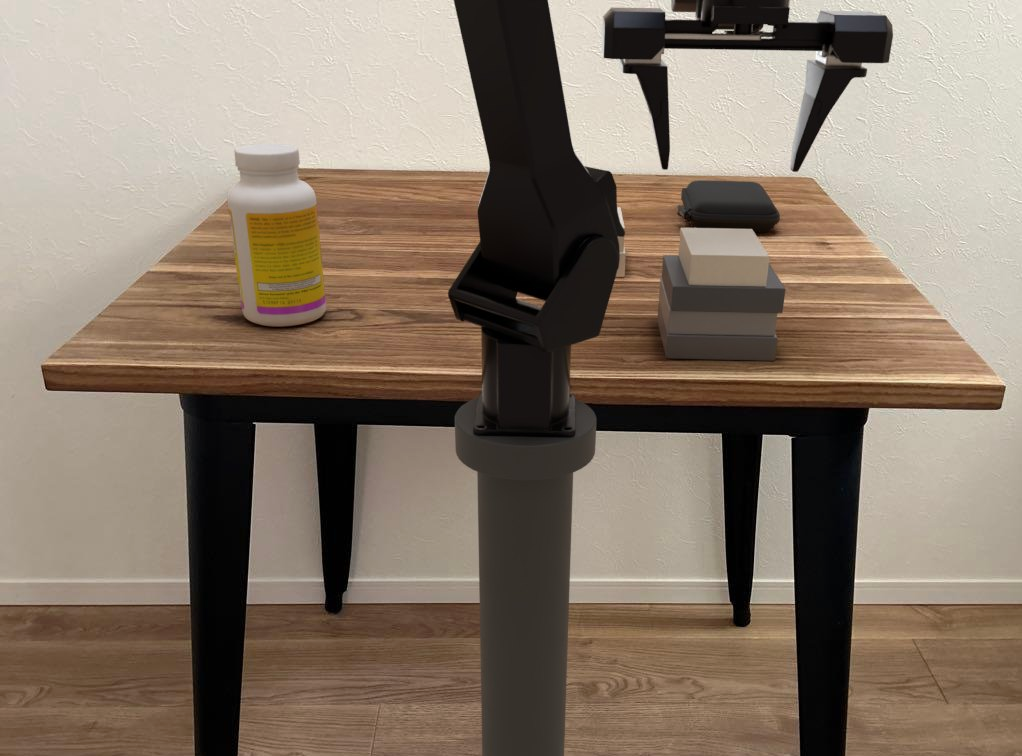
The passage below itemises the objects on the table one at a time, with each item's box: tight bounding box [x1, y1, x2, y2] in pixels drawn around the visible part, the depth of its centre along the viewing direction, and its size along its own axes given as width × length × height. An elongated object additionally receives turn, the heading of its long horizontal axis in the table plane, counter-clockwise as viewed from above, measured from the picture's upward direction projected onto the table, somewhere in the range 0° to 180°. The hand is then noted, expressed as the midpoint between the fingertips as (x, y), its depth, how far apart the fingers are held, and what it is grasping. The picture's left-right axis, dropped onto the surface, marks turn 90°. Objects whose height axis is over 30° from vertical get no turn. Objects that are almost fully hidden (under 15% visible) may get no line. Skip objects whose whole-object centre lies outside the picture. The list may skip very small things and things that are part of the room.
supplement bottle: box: [226, 143, 327, 328], centre depth 82 cm, size 7×7×13 cm
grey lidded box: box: [656, 254, 787, 362], centre depth 80 cm, size 9×8×5 cm
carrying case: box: [676, 179, 781, 233], centre depth 116 cm, size 11×3×15 cm
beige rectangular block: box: [677, 227, 771, 287], centre depth 78 cm, size 8×6×2 cm
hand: (729, 169), depth 75 cm, fingers open, 9 cm apart
